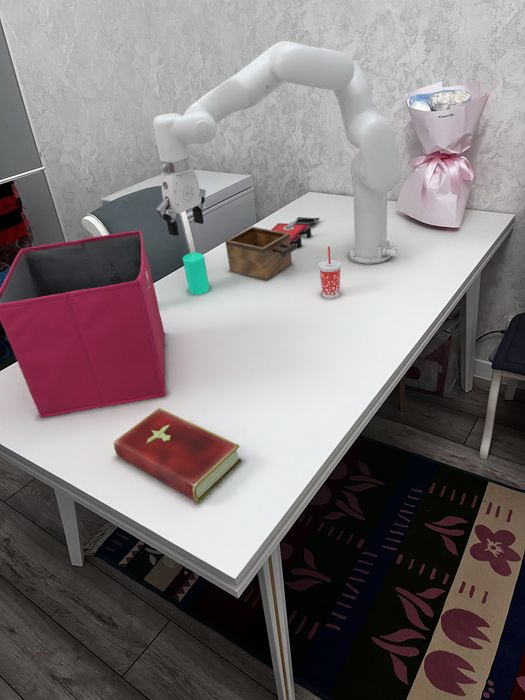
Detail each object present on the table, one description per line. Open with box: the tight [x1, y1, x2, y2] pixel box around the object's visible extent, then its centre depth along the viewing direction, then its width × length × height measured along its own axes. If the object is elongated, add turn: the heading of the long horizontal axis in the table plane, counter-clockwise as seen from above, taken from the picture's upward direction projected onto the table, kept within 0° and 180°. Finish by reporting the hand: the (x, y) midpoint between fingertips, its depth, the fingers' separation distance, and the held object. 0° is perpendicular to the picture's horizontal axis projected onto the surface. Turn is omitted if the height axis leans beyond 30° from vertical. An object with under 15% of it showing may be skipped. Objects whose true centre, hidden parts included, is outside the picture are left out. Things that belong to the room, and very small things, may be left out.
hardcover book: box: [113, 407, 243, 504], centre depth 102 cm, size 12×21×4 cm, turn 52°
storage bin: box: [0, 230, 167, 419], centre depth 123 cm, size 28×29×28 cm
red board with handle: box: [270, 216, 321, 249], centre depth 190 cm, size 30×3×15 cm
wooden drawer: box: [224, 226, 298, 281], centre depth 167 cm, size 20×13×10 cm, turn 51°
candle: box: [182, 251, 210, 295], centre depth 160 cm, size 6×6×12 cm
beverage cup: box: [317, 246, 342, 300], centre depth 148 cm, size 6×6×14 cm
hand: (186, 228), depth 153 cm, fingers open, 9 cm apart
